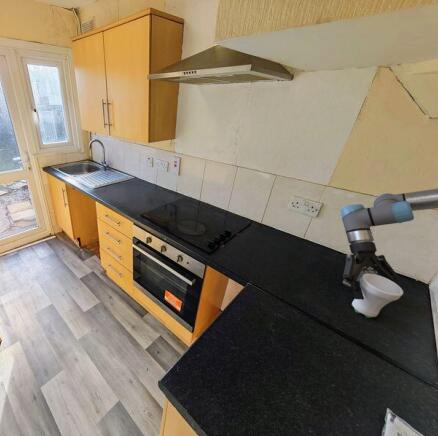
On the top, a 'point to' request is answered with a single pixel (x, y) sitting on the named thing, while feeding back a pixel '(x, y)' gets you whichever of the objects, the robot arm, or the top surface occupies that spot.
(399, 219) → the robot arm
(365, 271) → the food container
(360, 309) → the cup
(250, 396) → the top surface
